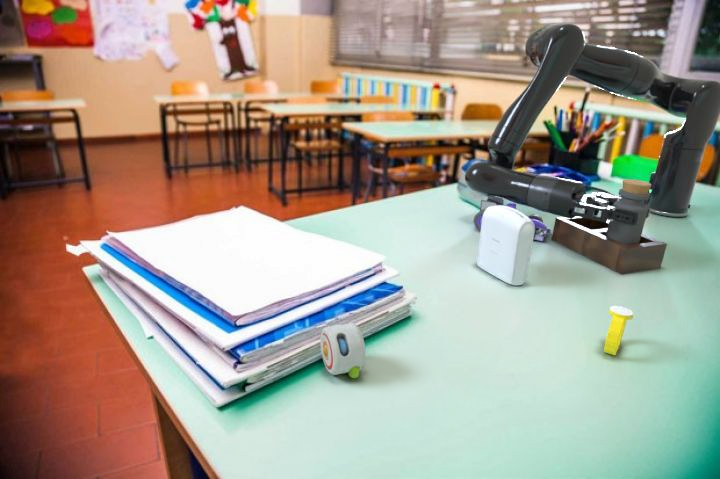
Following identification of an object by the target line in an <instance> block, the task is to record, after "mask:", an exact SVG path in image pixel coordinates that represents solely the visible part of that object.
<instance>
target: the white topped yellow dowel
mask: <svg viewBox="0 0 720 479" xmlns="http://www.w3.org/2000/svg"><path fill="white" fill-rule="evenodd" d="M608 310H609V311H608V314H609V315H610V316H612V318H611V322H610V324H609V326H608V327H609V328H608V330H607V334H606V338H605V342H604V347H603V352H604V353H606V354H609V355H612V356H616V354H617V352H618V350H619V348H620V345H621V342H622V339H623V335H624V332H625V328H626V324H627V321H630V320H632V319H633V317H634V312H633V311H632V310H631V309H629V308H627V307H624V306H621V305H612V306H609V309H608Z"/></svg>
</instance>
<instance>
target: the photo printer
mask: <svg viewBox="0 0 720 479" xmlns="http://www.w3.org/2000/svg"><path fill="white" fill-rule="evenodd" d="M479 232H480V234H479V242H478V248H477V258H476V265H477V266H478V268H480V269H482V270H483V271H485V272H486V273H489V274H490V275H492V276H494V277H495V278H497V279H499V280H501V281H502V282H505V283H506V284H508V285H512V286H521V285H524V284H525V282H526V281H527V280H528V274H529V268H530V262H531V257H532V250H533V243H534V236H535V235H534V232H535V226H534V223H533V222H532V221H531V220H530V219H529V218H528V216H527V215H526V214H525V213H524V212H522V211H520V210H518V209H517V208H516V209H514V208H511V207H508V206H506V205H505V206H502V205H496V206H490V207H488V208H487V209H486V210H485V211H484V214H483V217H482V224H481V231H479Z"/></svg>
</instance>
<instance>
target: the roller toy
mask: <svg viewBox="0 0 720 479" xmlns="http://www.w3.org/2000/svg"><path fill="white" fill-rule="evenodd" d="M319 342H320V343H319V344H320V353H321V358H322V361H323V364H324V367H325V369H326V370H327V372H328V373H329V374H331V375H334V376H337V375H341V374H348V376H349V377H350V378H351V379H356V378H357V379H358V378H359V375H360V370H362V369H363V367H364V365H365V363H366V354H367V352H366V344H365V339H364V336H363V334H362V331H361V329H360V328H359V326H358V325H357V324H355V323H353V322H347V323H346V324H333V325H329V326H325V327H324V328H323V329H322V330H321V333H320V340H319Z"/></svg>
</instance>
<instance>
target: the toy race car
mask: <svg viewBox="0 0 720 479" xmlns="http://www.w3.org/2000/svg"><path fill="white" fill-rule="evenodd" d="M496 205H502V206H508V207H511V208H514V209H516V210H517V203H514V202H509V203H507V204H506V205H505V204H504V198H501V197H497V196H495V197H493V196H488V197H487V199H486V200H484V199H480V208H479V212H477V213H476V214H475V215H474V218H473V225H474V227H475V228H476V229H477V230H478V231H479V232H481V224H482V217H483V214H484V211H485V210H486V209H487V208H488V207H490V206H496ZM527 217H528V218H529V219H530V220H531V221H532V222H533V223H534V226H535V232H534V238H533V241H535V240H536V241H540V242H543V241H544V239H545V236H546V235H547V234H550V233H551V230H552V229H551V228H549V227H547V226H546V225H545V224H544V219H543V218H542V217H541V215H539V214H537V213H536V214H535V213H532V214H530V215H528V216H527ZM539 230H540V233H537V232H538V231H539Z"/></svg>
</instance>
